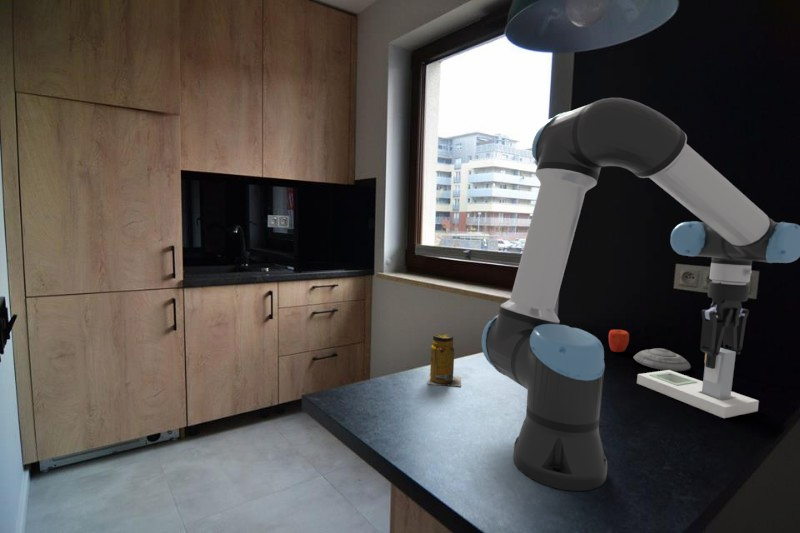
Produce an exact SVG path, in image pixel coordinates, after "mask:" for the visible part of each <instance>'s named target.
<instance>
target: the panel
mask: <svg viewBox="0 0 800 533" xmlns="http://www.w3.org/2000/svg"><path fill="white" fill-rule="evenodd" d="M636 384H638V385H641V386H643V387H646V388H648V389H650V390H652V391H655V392H658V393H660V394H663V395H666V396H667V397H670V398H673V399H675V400H678V401H680V402H683V403H685V404H686V405H687V404H688V405H689V406H692V407H694V408H698V409H700V410H702V411H704V412H707V413H709V414H712V415H714V416H717V417H719V418H723V419H726V418H732V417H737V416H740V415H746V414H751V413H756V412H758V411H759V403H760V401H759V400H758V399H755V398H752V397H749V396H746V395H743V394H740V393H737V392H735V391H732V390H731V397H730V398H725V399H717V398H714V397H711V396H709V395H706V394H703V393H702V387H703V380H700V379H697V378H694V377H690V376H689V375H686V374H685V375H684V374H682V373H679V372H678V371H671V370H660V371H659V370H658V371H652V372H651V371H650V372H646V373H645V372H643V373H638V374H637V378H636Z"/></svg>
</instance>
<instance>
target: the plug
mask: <svg viewBox="0 0 800 533" xmlns="http://www.w3.org/2000/svg"><path fill="white" fill-rule="evenodd" d="M719 355H720V356H721V363H720V371H719V380H718V383H713V382H710V381H707V380H704V377H705V368H706V357H707V353H705V352H704V361H703V362H704V371H703V378H702V379H703V380H702V381H703V387H702V393H703V394H706V395H709V396H711V397H714V398H717V399H725V398H730V397H731V391H732V387H733V378H734V372H735V371H734V370H735V362H736V355H737V354H736V352H735V351H731V350H727V349H723V347H720V351H719Z"/></svg>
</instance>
